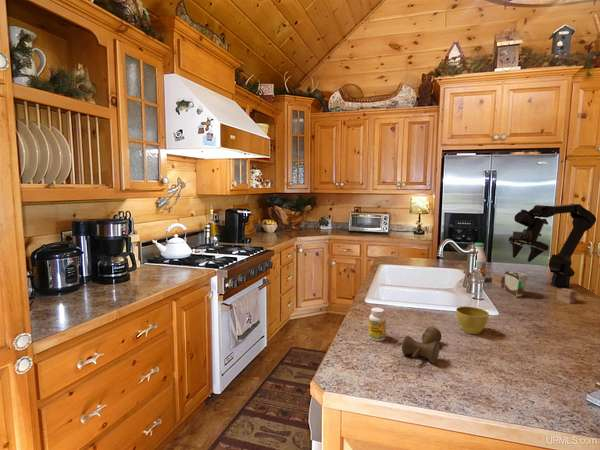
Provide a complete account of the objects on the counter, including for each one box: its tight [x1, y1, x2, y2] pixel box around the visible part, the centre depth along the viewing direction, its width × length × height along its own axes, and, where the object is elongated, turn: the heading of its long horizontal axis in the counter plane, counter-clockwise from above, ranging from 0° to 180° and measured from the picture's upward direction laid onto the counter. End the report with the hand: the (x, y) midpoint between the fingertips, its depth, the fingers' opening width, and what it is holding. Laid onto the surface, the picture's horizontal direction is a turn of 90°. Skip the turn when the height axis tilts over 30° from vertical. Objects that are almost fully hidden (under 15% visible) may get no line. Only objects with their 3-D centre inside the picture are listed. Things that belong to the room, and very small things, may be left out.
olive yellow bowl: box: [455, 306, 490, 335], centre depth 120 cm, size 10×10×7 cm
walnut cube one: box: [491, 273, 505, 288], centre depth 176 cm, size 5×5×5 cm
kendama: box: [401, 326, 442, 365], centre depth 105 cm, size 6×10×20 cm
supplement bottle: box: [368, 307, 387, 342], centre depth 114 cm, size 5×5×10 cm
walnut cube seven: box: [556, 288, 578, 305], centre depth 152 cm, size 5×5×5 cm
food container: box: [503, 270, 528, 299], centre depth 161 cm, size 12×6×10 cm, turn 179°
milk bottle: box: [473, 242, 487, 282], centre depth 184 cm, size 8×8×20 cm
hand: (520, 259), depth 170 cm, fingers open, 9 cm apart
